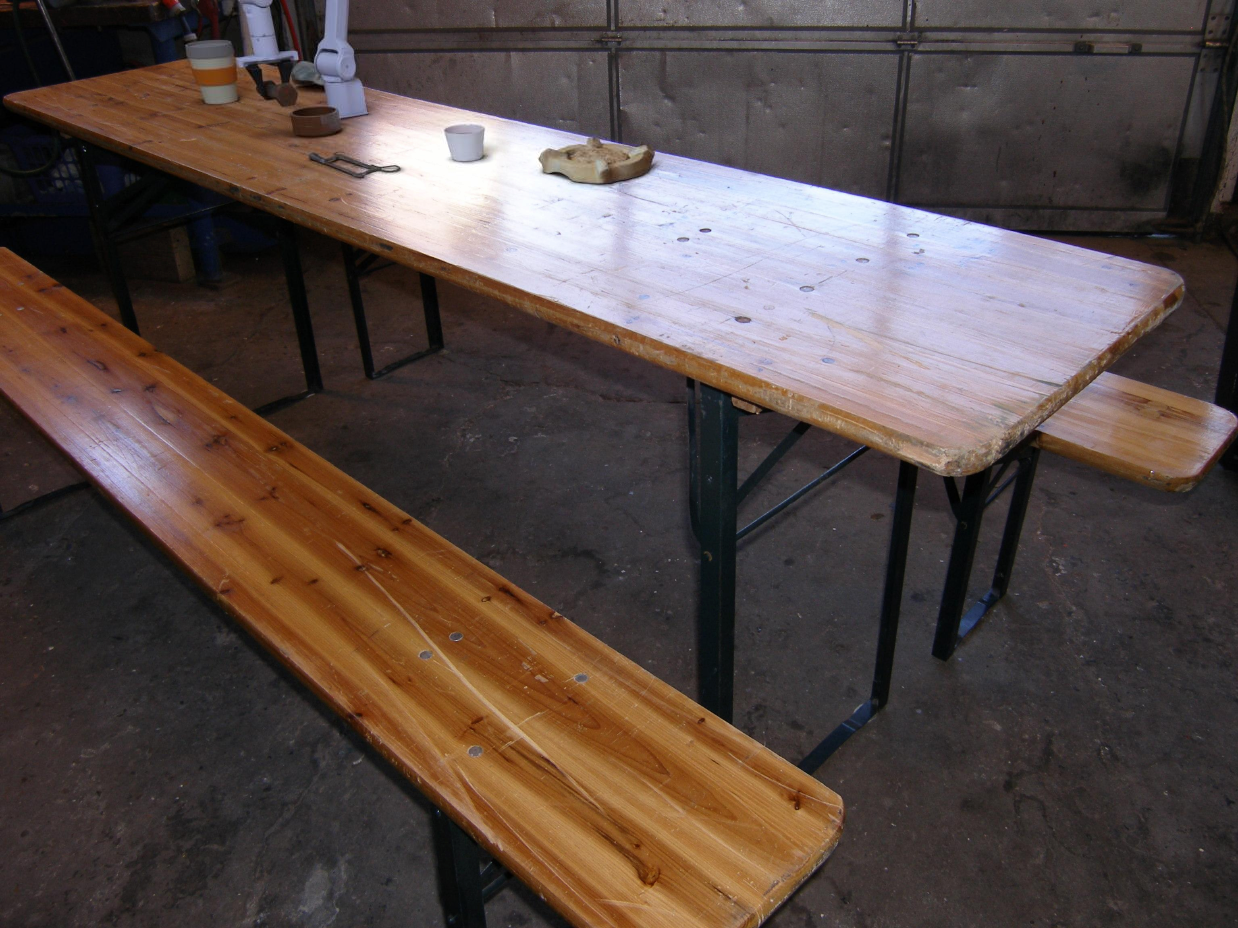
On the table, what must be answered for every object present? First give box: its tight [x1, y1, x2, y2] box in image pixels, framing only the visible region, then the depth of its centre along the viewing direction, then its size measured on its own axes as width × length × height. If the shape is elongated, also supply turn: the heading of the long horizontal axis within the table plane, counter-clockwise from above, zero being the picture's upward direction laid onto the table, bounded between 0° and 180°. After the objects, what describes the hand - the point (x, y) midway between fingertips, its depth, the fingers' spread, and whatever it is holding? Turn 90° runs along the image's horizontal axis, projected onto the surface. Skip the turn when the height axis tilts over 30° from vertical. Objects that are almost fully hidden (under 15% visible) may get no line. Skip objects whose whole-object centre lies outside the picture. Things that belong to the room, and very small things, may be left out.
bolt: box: [255, 79, 299, 108], centre depth 237 cm, size 6×5×15 cm
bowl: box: [289, 105, 342, 138], centre depth 240 cm, size 12×12×5 cm
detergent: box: [290, 60, 356, 87], centre depth 282 cm, size 13×7×25 cm
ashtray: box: [537, 136, 656, 184], centre depth 207 cm, size 24×24×5 cm
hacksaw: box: [308, 151, 401, 178], centre depth 215 cm, size 24×10×2 cm, turn 44°
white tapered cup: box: [443, 123, 486, 162], centre depth 217 cm, size 9×9×6 cm
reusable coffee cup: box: [185, 39, 239, 105], centre depth 270 cm, size 13×13×15 cm
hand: (274, 95), depth 238 cm, fingers closed on bolt, 5 cm apart
